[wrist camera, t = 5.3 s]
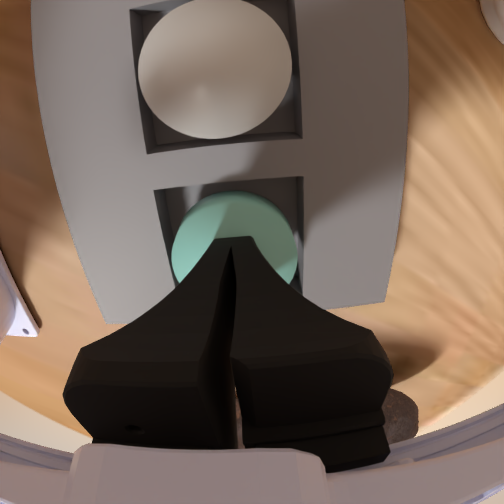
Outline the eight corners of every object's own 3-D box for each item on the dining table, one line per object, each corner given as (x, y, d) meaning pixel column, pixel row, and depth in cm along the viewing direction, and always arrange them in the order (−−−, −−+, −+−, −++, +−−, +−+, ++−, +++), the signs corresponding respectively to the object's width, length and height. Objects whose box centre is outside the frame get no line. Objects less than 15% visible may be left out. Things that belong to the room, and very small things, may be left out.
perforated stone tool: (416, 360, 20) (451, 440, 14) (394, 401, 23) (418, 471, 17) (201, 379, 19) (195, 478, 13) (209, 418, 22) (206, 500, 16)
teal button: (187, 295, 13) (184, 314, 12) (167, 197, 11) (159, 210, 10) (292, 286, 13) (297, 305, 12) (291, 185, 11) (297, 198, 10)
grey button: (157, 140, 10) (148, 148, 9) (143, 17, 8) (132, 11, 7) (289, 126, 10) (295, 133, 9) (280, 1, 8) (286, -8, 7)
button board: (117, 297, 16) (106, 323, 14) (60, -84, 5) (40, -97, 4) (370, 277, 16) (384, 301, 14) (358, -117, 5) (373, -136, 4)
